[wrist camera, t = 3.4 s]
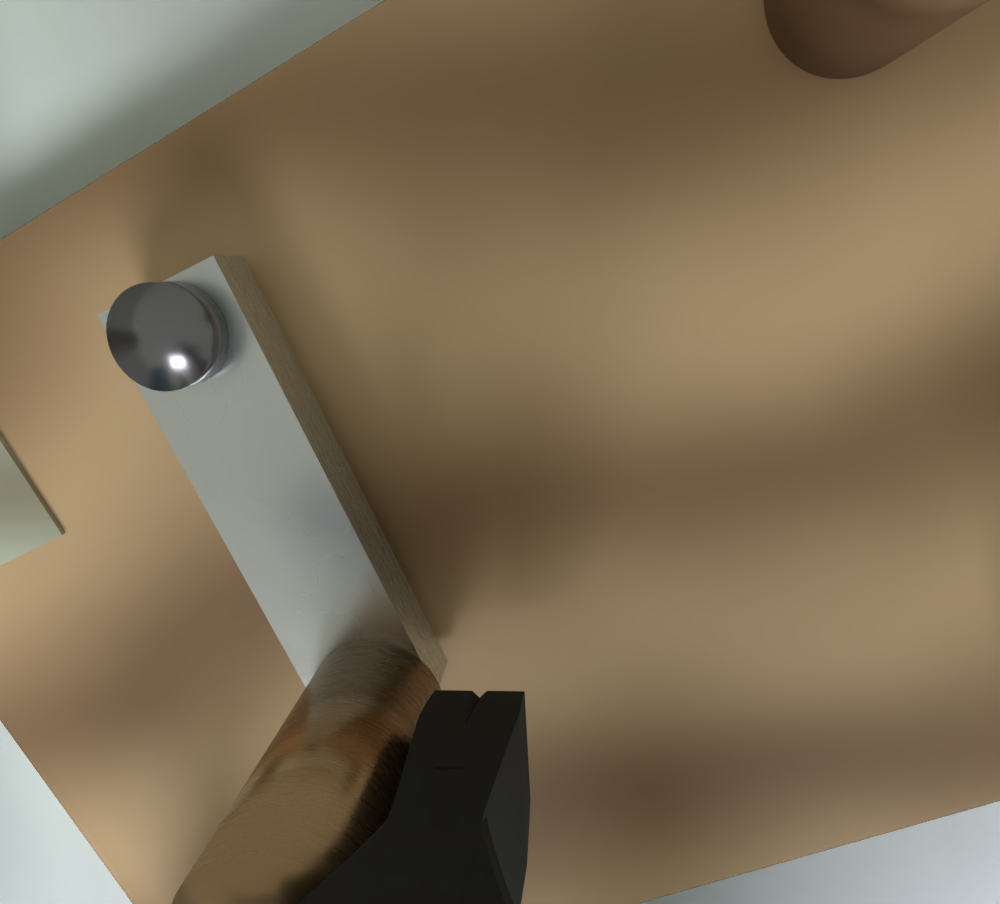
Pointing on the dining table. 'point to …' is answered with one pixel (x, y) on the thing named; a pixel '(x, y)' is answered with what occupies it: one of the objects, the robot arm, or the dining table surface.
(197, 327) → the hinged leg
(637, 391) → the stool seat
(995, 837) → the dining table surface
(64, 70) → the dining table surface
